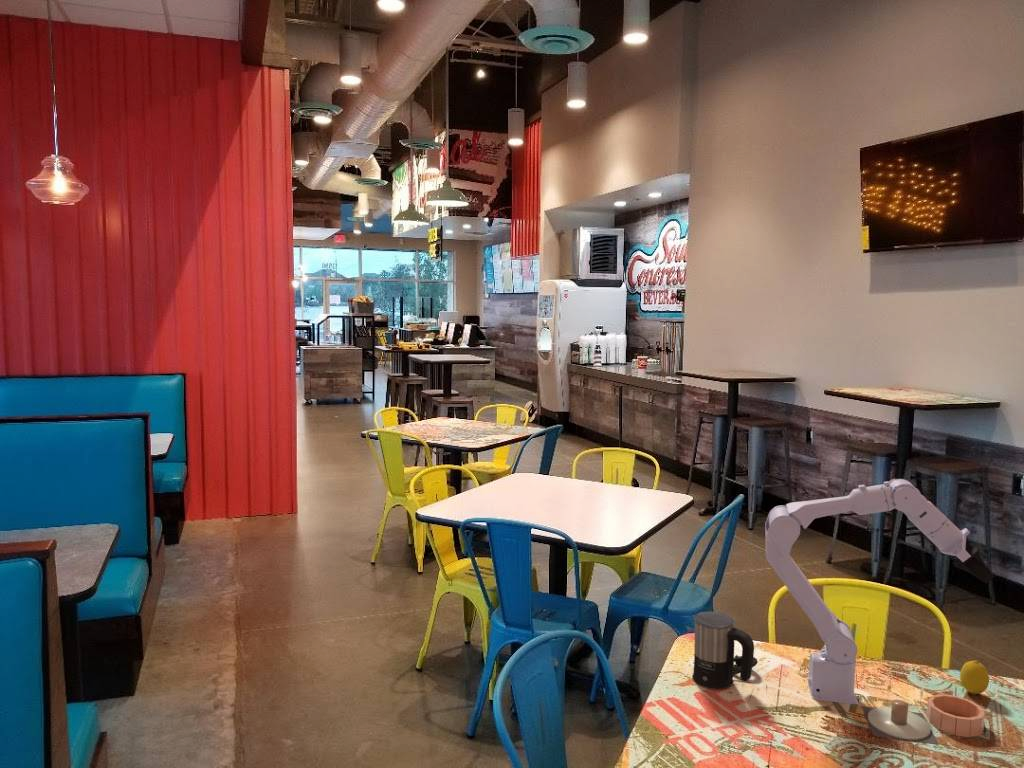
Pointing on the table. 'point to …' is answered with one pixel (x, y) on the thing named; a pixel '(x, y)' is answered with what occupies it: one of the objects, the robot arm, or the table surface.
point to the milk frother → (720, 651)
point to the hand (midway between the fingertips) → (984, 573)
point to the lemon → (974, 677)
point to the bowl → (955, 715)
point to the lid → (899, 721)
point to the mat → (877, 733)
